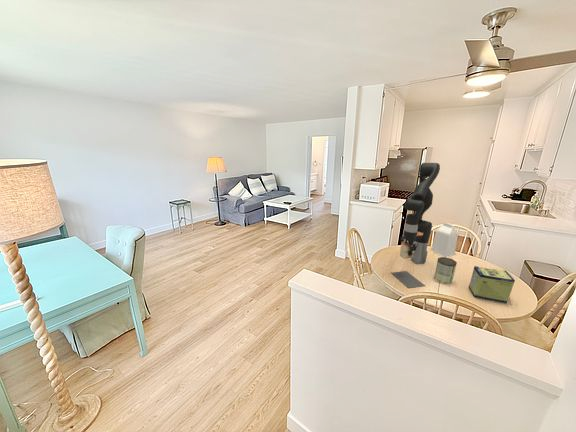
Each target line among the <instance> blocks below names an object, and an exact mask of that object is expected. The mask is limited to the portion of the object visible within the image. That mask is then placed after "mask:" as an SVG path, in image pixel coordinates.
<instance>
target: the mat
mask: <svg viewBox="0 0 576 432" xmlns="http://www.w3.org/2000/svg"><path fill="white" fill-rule="evenodd" d="M391 274H392V276H394V278H396V279H397V280H398V281H399V282H400V283H401V284H402V285H404V286H405V287H406V288H407V289H414V288H421V287H426V285H425V284H424V283H423V282H422V281H420V280H419V279H418V278H417V277H415V276H413V275H412V273H410V272H408V271H407V270H403V271H394V272H391Z"/></svg>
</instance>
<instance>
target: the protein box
mask: <svg viewBox="0 0 576 432" xmlns="http://www.w3.org/2000/svg"><path fill="white" fill-rule="evenodd" d="M470 278H471V279H470V281H469V286H468V289H469V290H470V292H471V294H472V296H473V297H474V298H477V299H482V300H488V301H493V302H497V303H498V302H499V303H502V302H503V304H508V302H509V300H510V297H511V293H512V289H513V287H514V284H515V281H516V280H515V279H514V277H513V276H512V275H511V274H510V273H509V272H508V271H507V270H504V269H498V268H491V267H482V266H477V265H474V267H473V269H472V274H471V277H470Z"/></svg>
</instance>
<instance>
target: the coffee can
mask: <svg viewBox="0 0 576 432" xmlns="http://www.w3.org/2000/svg"><path fill="white" fill-rule="evenodd" d="M457 263H458V262H457V261H456V260H454V259H453V258H450V257H443V256H441V257H438V258H437V262H436V268H435V271H434V277H433V278H434V280H435V281H437V282H438V283H441V284H446V285H447V284H448V285H451V284H452V283H453V279H454V276H455V273H456V272H455V271H456V267H457Z"/></svg>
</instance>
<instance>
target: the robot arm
mask: <svg viewBox="0 0 576 432" xmlns="http://www.w3.org/2000/svg"><path fill="white" fill-rule="evenodd" d="M440 170H441V166H440V163H438V162H423V163H421V164H420V166H419V173H418V180H419V181H418V184H417V186H416V187H415V189H414V191H413V192H412V194H411V195H410V196H409V197H408V199H407V200H406V201H405V203H404V209H405V210H406V211H411V212H415V213H408V214H406V217H405V223H404V228H403V235H402V236H400V244H401V243H402V242H404V243H407V244H408V245H409V246H408V247H409V251H408V256H411V255H412V251H414V258H410V261H411V262H412V263H414V264H418V265H422V264H423V265H424V264H425V263H426V262H427V256H428V246H429V240H430V237H431V233H432V229H433V223H432V222H431V221H428V220H424V219H423V215H424V214H425V213H426V212H427V211H428V210H429V209H430V208H431V207H432V205H433V199H434V195H433V191H432V190H431V188H430V187H431V186H432V184H433V183H434V181H435V180H436V179H437V177H438V175H439V173H440ZM426 177H427V178H426ZM418 233H421V234H422V235H421V234H420V235H419V234H418ZM417 234H418V235H417ZM412 244H413V245H412ZM410 245H412V246H410ZM410 247H411V248H410Z"/></svg>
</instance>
